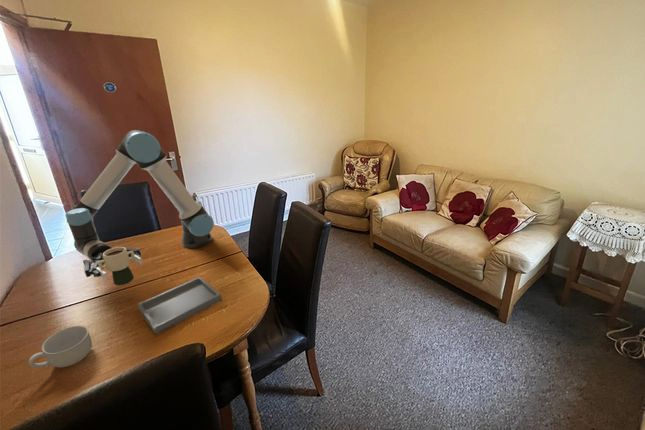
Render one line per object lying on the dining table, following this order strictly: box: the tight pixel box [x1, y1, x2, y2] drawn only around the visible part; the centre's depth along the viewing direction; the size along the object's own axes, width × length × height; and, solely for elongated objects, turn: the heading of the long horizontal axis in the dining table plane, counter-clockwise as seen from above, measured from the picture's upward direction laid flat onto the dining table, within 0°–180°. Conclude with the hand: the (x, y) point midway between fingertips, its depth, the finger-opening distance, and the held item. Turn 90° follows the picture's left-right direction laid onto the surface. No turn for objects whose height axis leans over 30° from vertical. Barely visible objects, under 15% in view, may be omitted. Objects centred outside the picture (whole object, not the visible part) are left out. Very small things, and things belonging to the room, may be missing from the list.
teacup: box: [28, 325, 93, 369], centre depth 86 cm, size 14×11×8 cm
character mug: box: [98, 246, 135, 286], centre depth 104 cm, size 11×7×13 cm, turn 135°
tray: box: [136, 276, 223, 336], centre depth 109 cm, size 24×18×3 cm
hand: (124, 268), depth 102 cm, fingers closed on character mug, 11 cm apart
